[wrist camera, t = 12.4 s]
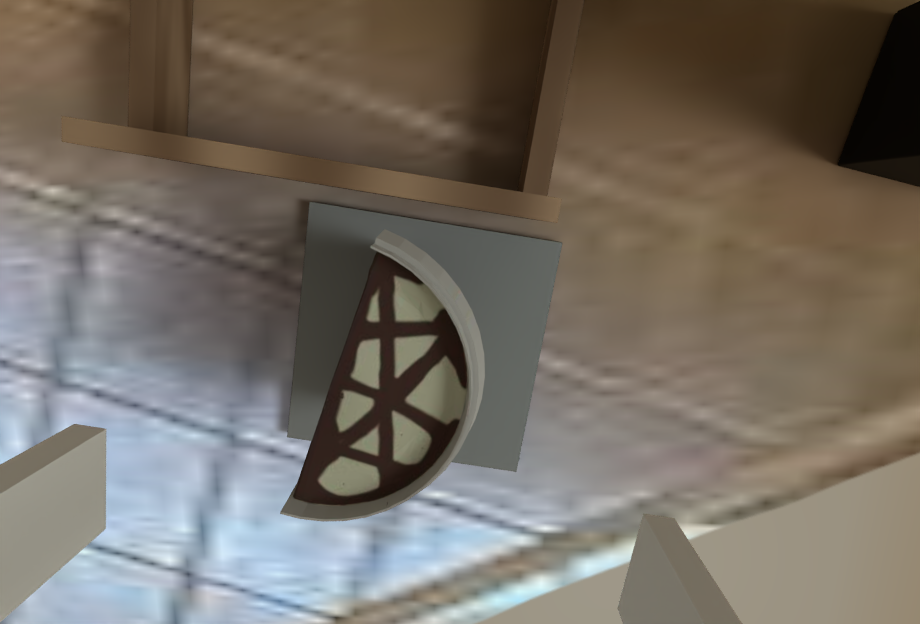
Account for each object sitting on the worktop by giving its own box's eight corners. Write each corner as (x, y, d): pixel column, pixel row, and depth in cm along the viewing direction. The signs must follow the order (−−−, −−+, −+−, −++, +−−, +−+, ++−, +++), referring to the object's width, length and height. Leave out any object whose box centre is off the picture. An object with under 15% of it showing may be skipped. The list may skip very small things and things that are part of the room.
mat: (560, 242, 28) (562, 243, 27) (515, 466, 31) (516, 471, 30) (312, 201, 27) (309, 201, 27) (290, 432, 30) (287, 437, 30)
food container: (435, 453, 30) (421, 573, 20) (338, 419, 29) (276, 525, 20) (511, 263, 27) (538, 292, 18) (407, 223, 27) (375, 231, 17)
